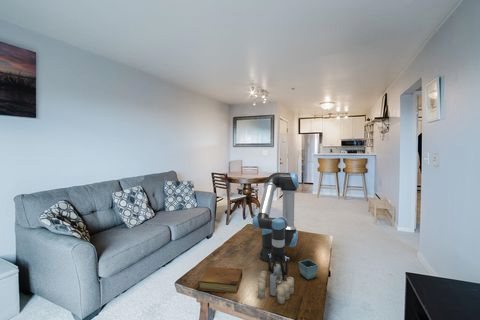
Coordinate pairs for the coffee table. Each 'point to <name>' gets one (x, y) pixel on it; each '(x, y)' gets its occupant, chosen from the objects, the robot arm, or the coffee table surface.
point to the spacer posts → (282, 290)
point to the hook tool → (275, 279)
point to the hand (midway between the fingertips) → (278, 284)
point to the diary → (220, 280)
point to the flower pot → (308, 269)
